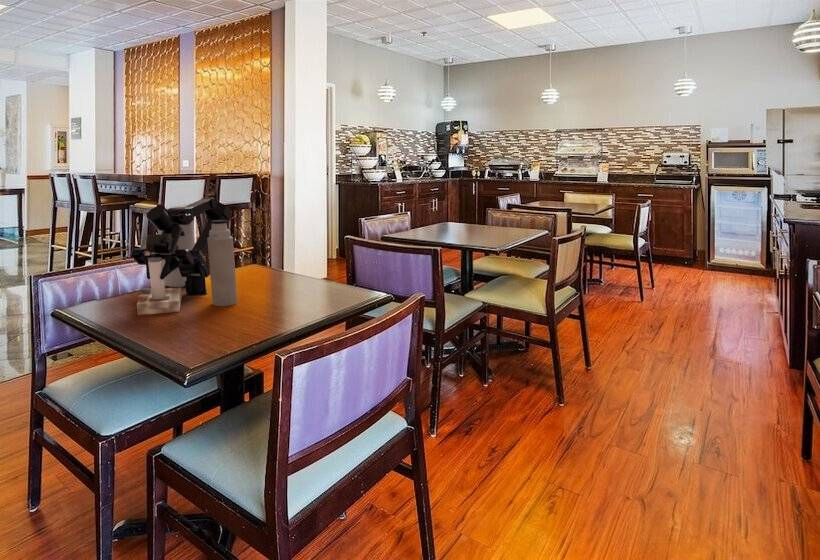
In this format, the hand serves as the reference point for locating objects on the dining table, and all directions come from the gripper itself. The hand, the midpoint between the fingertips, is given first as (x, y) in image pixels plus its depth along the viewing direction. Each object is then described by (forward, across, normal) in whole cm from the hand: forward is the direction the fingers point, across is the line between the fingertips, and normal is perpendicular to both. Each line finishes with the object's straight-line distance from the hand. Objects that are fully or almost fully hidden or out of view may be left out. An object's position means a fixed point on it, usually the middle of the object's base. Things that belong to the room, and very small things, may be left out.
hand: (154, 278), depth 171 cm
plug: (+4, 0, +6) cm, 7 cm away
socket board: (+3, -2, +12) cm, 12 cm away
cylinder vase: (-19, -12, +34) cm, 41 cm away
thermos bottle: (0, +18, +15) cm, 23 cm away
